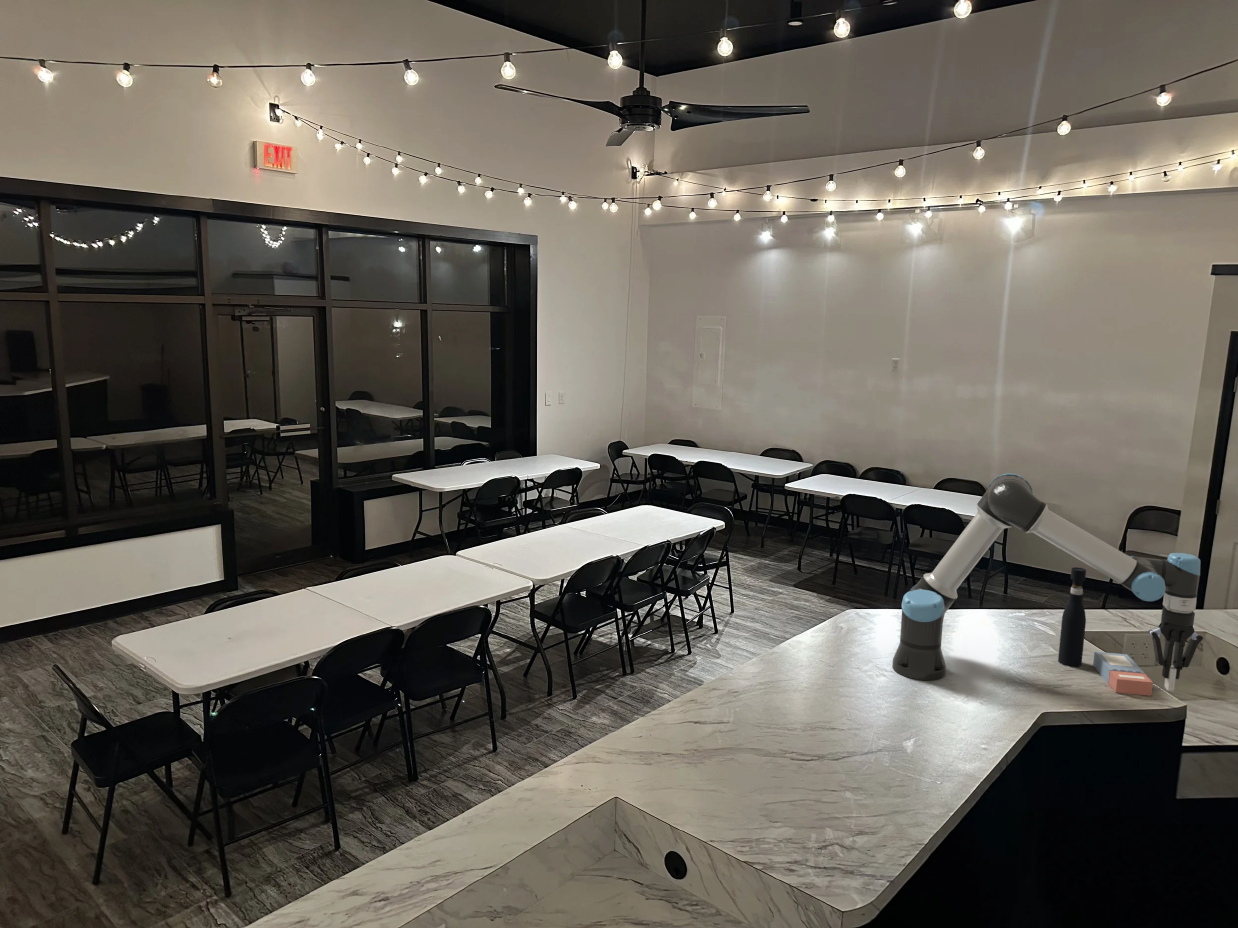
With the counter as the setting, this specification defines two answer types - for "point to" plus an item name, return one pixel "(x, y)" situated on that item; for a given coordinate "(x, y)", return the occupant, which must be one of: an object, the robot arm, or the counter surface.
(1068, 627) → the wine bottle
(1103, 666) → the blue labeled box
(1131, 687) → the red box
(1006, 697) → the counter surface
